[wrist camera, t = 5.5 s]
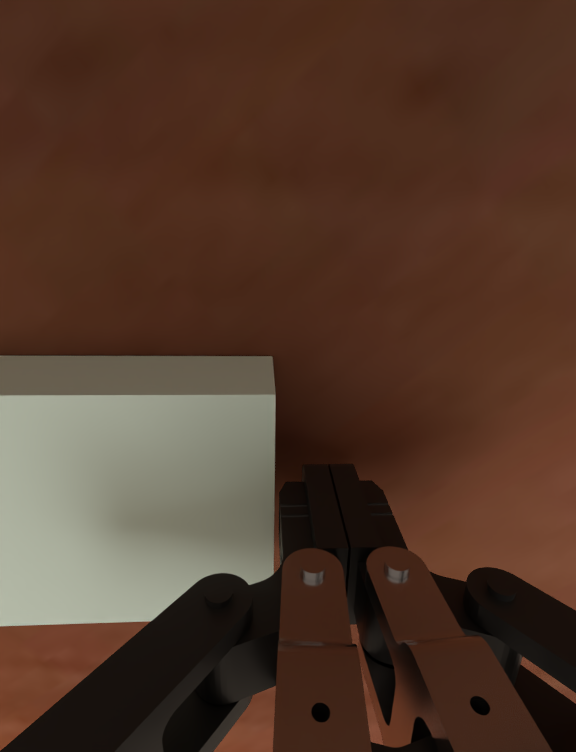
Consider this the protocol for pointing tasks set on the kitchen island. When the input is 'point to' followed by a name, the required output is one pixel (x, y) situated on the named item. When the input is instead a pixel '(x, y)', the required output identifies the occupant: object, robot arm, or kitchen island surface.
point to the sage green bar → (131, 482)
